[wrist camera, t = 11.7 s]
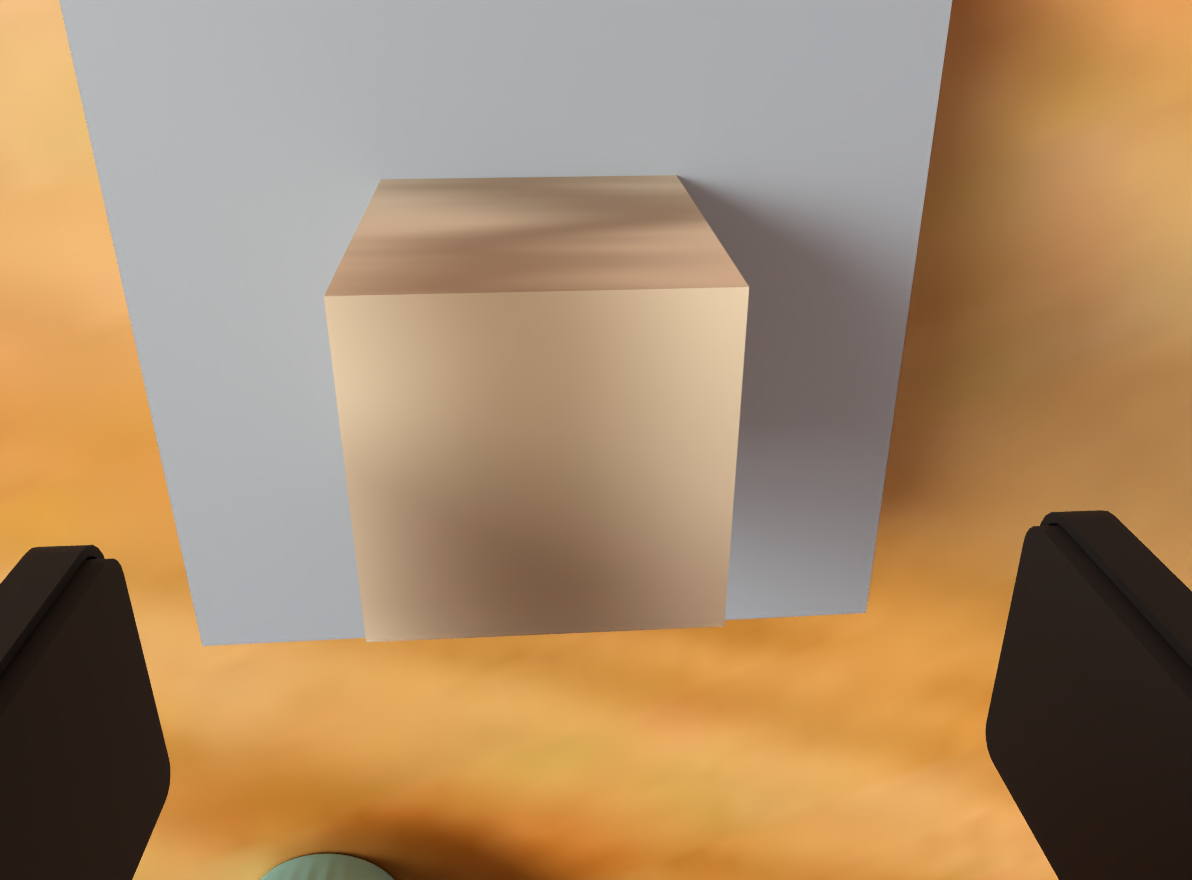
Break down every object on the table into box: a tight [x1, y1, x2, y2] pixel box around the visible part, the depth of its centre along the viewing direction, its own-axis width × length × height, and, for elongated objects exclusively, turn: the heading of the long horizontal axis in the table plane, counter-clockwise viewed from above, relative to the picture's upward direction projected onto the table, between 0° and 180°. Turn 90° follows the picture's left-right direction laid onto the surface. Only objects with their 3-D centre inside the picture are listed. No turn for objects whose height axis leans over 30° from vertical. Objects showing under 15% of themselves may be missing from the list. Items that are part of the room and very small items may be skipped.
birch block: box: [324, 175, 749, 642], centre depth 16 cm, size 5×5×6 cm
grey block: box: [59, 0, 952, 646], centre depth 21 cm, size 14×14×5 cm
